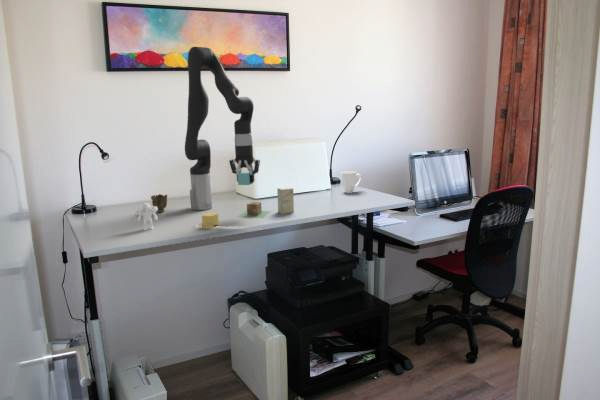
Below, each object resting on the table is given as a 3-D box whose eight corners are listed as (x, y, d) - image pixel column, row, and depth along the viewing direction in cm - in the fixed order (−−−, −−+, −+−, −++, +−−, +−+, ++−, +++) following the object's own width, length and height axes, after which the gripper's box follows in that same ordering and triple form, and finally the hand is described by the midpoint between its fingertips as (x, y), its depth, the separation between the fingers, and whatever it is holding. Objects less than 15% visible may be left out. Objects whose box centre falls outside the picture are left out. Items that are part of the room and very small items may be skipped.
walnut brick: (247, 215, 211) (246, 204, 209) (251, 212, 215) (250, 201, 214) (257, 215, 209) (257, 204, 208) (261, 212, 214) (261, 202, 213)
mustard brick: (202, 227, 197) (201, 215, 196) (208, 224, 202) (207, 212, 201) (213, 228, 196) (212, 216, 195) (218, 224, 201) (218, 213, 199)
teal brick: (238, 184, 206) (237, 173, 205) (242, 182, 210) (242, 171, 209) (248, 185, 204) (248, 173, 203) (253, 183, 209) (252, 171, 208)
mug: (346, 194, 254) (346, 173, 252) (338, 192, 262) (338, 171, 259) (365, 192, 259) (365, 171, 257) (357, 189, 266) (357, 169, 264)
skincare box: (281, 216, 212) (281, 189, 209) (277, 214, 215) (276, 188, 213) (294, 214, 214) (293, 188, 212) (290, 212, 218) (289, 186, 216)
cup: (171, 210, 227) (170, 194, 226) (161, 214, 221) (159, 197, 219) (159, 209, 230) (158, 193, 229) (149, 213, 224) (147, 196, 222)
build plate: (237, 219, 208) (236, 216, 208) (246, 212, 220) (246, 210, 219) (262, 220, 205) (262, 217, 205) (271, 213, 217) (271, 211, 216)
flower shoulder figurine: (159, 226, 200) (156, 198, 197) (160, 228, 196) (157, 200, 194) (136, 229, 196) (133, 201, 194) (137, 231, 193) (134, 202, 190)
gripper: (224, 145, 202) (227, 184, 206) (255, 144, 198) (258, 184, 202) (232, 143, 209) (234, 181, 213) (262, 143, 205) (264, 181, 209)
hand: (245, 182), depth 207 cm, fingers closed on teal brick, 5 cm apart
